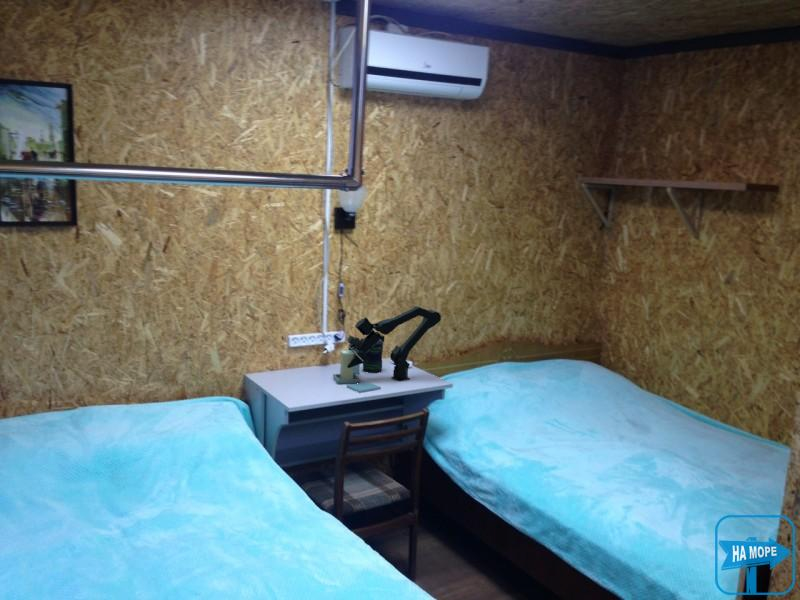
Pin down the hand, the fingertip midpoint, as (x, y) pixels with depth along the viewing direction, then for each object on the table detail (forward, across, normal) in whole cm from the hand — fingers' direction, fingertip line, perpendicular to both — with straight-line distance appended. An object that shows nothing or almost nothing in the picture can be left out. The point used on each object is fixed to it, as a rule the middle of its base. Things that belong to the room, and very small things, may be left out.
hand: (345, 364), depth 322 cm
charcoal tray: (+5, 0, +6) cm, 8 cm away
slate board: (+1, +13, +10) cm, 16 cm away
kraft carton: (+5, 0, +6) cm, 7 cm away
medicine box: (+2, -14, +10) cm, 17 cm away
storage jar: (-7, -17, +18) cm, 26 cm away
